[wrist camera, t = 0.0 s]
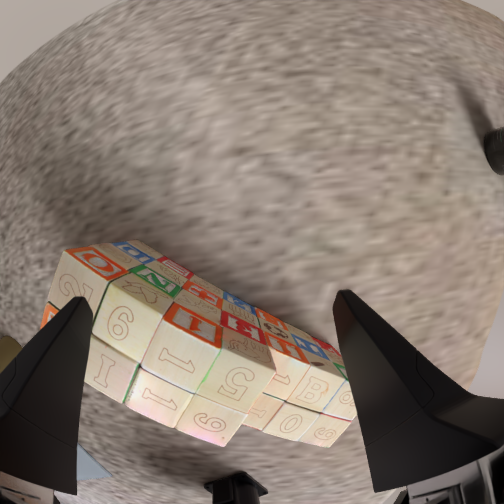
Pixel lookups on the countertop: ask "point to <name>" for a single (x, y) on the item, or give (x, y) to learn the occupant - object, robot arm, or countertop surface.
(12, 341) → the olive pawn
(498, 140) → the supplement bottle
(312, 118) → the countertop surface
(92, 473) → the mat
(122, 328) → the stack of blocks
